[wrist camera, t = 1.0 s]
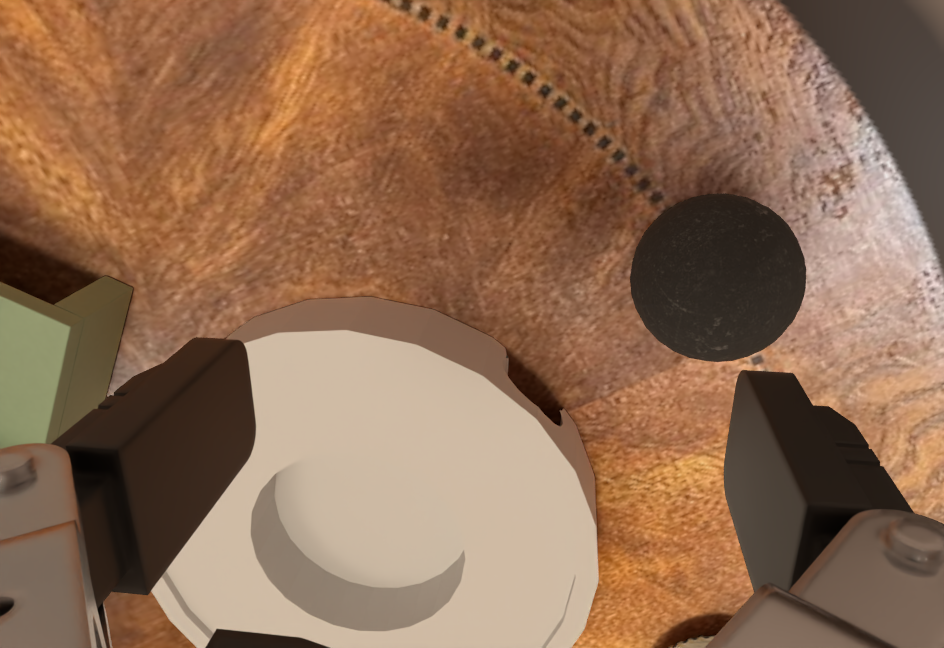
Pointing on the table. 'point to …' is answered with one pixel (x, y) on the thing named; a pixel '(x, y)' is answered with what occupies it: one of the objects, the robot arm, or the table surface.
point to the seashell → (694, 642)
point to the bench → (56, 358)
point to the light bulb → (718, 277)
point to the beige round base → (392, 494)
